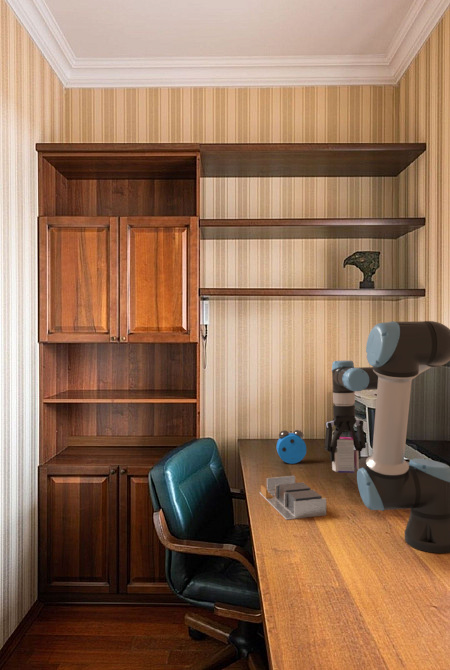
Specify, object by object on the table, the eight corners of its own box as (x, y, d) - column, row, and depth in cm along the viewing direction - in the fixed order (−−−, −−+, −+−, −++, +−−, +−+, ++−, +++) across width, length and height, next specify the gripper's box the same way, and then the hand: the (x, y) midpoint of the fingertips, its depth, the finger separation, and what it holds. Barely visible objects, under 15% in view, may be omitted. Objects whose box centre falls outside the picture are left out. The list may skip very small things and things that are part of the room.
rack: (326, 515, 176) (326, 497, 176) (286, 519, 172) (285, 501, 172) (294, 489, 204) (294, 474, 204) (259, 493, 200) (259, 477, 200)
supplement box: (355, 473, 183) (353, 439, 183) (337, 472, 184) (336, 439, 184) (354, 468, 189) (352, 436, 189) (337, 468, 190) (335, 436, 190)
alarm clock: (304, 460, 247) (304, 428, 247) (307, 464, 241) (306, 431, 241) (276, 461, 247) (275, 429, 247) (278, 464, 241) (277, 431, 240)
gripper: (364, 401, 193) (366, 465, 192) (312, 404, 188) (314, 469, 188) (375, 404, 185) (377, 469, 185) (321, 407, 180) (323, 474, 180)
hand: (345, 469), depth 186 cm, fingers closed on supplement box, 7 cm apart
